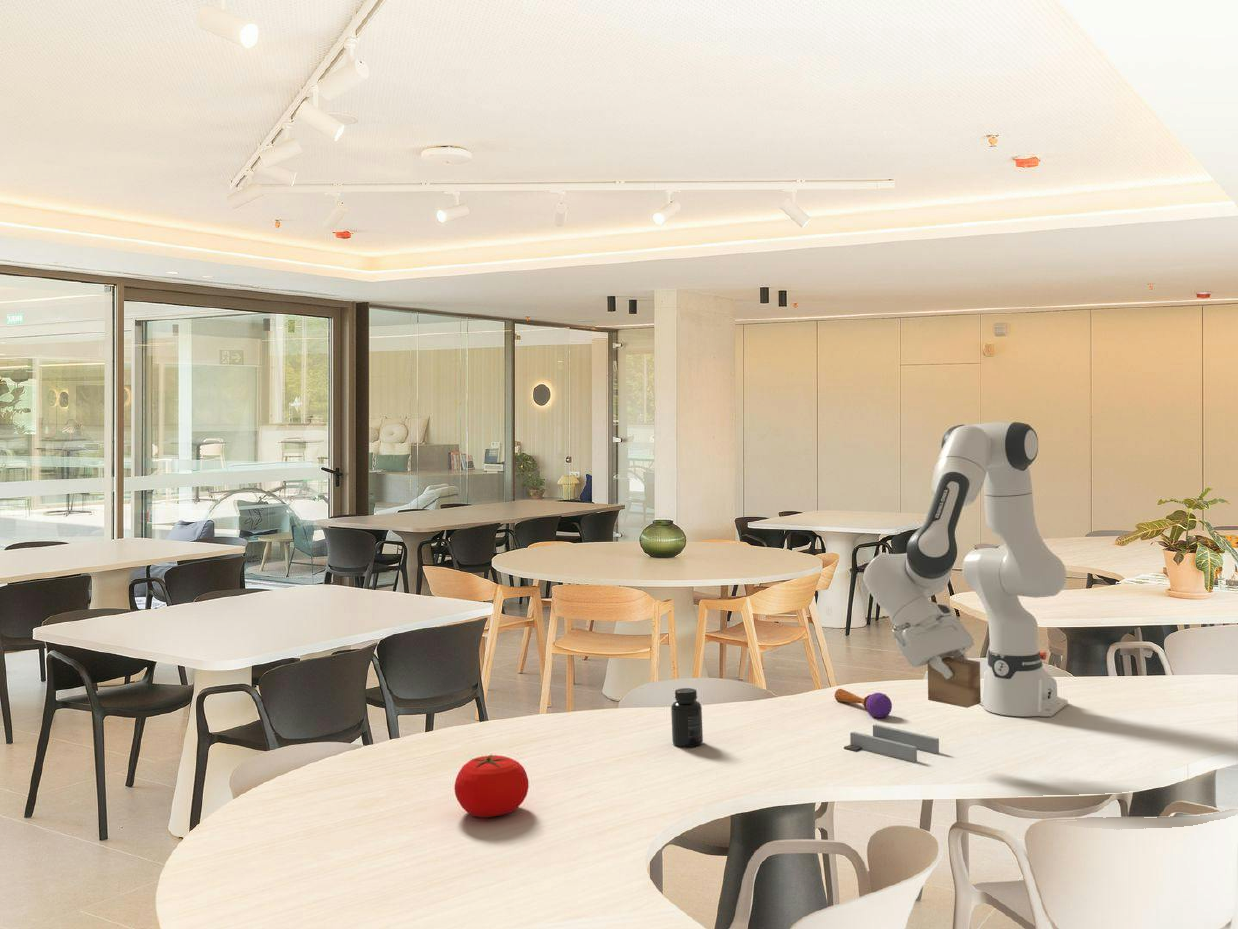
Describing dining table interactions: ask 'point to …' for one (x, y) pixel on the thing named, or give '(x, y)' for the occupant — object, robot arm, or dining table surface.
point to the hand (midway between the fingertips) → (960, 674)
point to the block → (956, 683)
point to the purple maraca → (868, 702)
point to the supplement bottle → (686, 719)
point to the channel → (893, 743)
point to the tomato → (491, 786)
